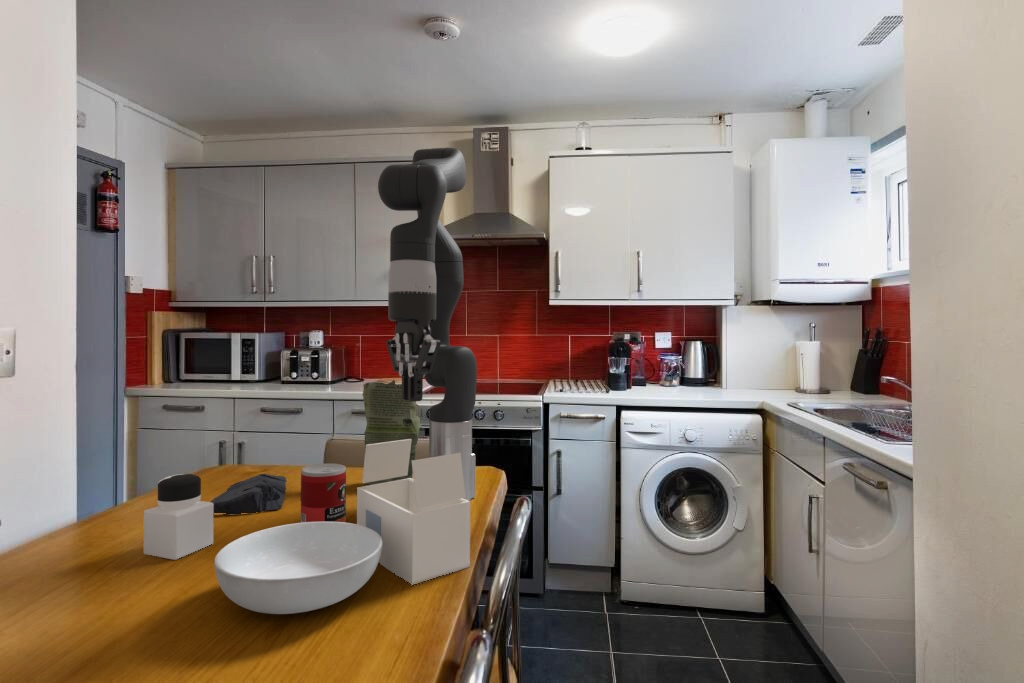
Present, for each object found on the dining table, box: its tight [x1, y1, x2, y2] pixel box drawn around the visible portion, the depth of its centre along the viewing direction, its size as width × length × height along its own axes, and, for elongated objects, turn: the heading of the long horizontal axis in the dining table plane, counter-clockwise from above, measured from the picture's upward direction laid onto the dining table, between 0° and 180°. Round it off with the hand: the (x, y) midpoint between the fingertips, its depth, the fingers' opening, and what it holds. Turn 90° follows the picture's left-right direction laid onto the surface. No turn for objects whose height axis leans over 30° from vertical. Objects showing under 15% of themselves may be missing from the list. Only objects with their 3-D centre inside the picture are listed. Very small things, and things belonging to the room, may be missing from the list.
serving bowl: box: [213, 522, 383, 615], centre depth 72 cm, size 21×21×7 cm
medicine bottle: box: [143, 473, 215, 561], centre depth 88 cm, size 7×7×12 cm
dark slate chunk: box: [210, 473, 287, 514], centre depth 116 cm, size 15×22×5 cm
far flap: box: [361, 439, 412, 484], centre depth 91 cm, size 8×7×1 cm
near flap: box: [412, 453, 466, 508], centre depth 79 cm, size 8×7×1 cm
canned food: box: [300, 463, 347, 523], centre depth 98 cm, size 8×8×11 cm
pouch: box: [362, 379, 421, 486], centre depth 129 cm, size 11×12×25 cm
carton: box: [356, 477, 471, 586], centre depth 85 cm, size 10×18×10 cm, turn 41°
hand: (411, 399), depth 85 cm, fingers closed
